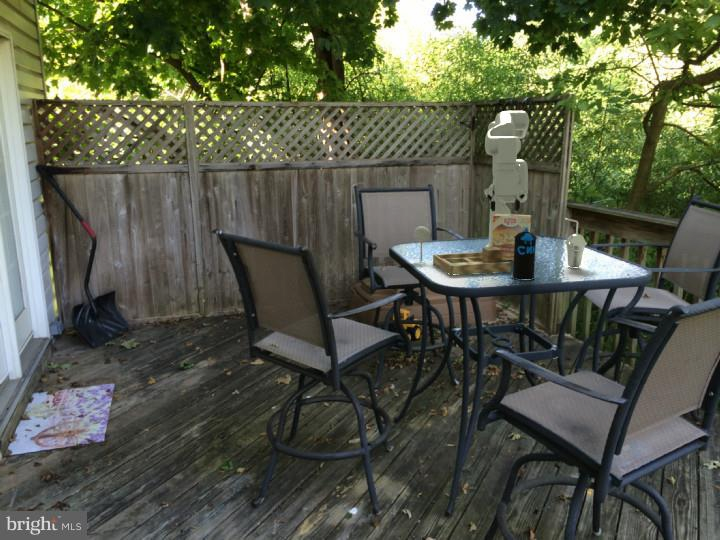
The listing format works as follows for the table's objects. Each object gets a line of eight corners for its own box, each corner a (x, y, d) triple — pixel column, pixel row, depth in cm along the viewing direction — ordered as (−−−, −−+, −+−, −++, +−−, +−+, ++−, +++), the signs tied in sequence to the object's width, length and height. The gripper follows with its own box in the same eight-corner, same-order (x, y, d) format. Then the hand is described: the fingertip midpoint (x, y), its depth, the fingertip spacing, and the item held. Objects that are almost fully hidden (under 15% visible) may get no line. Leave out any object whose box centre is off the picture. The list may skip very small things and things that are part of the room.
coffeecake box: (491, 259, 254) (492, 215, 250) (494, 256, 261) (496, 213, 256) (526, 262, 248) (528, 216, 244) (528, 258, 254) (531, 214, 250)
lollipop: (430, 258, 257) (431, 225, 254) (427, 262, 251) (427, 227, 247) (415, 257, 260) (415, 224, 256) (411, 261, 253) (411, 227, 250)
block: (495, 261, 239) (496, 246, 238) (501, 264, 233) (502, 249, 232) (481, 261, 238) (482, 247, 237) (487, 265, 232) (488, 250, 231)
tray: (488, 260, 252) (488, 251, 251) (510, 272, 230) (511, 262, 230) (433, 263, 247) (433, 254, 246) (450, 275, 226) (450, 265, 225)
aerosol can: (509, 275, 225) (511, 224, 220) (529, 275, 225) (532, 224, 221) (516, 281, 217) (519, 228, 212) (537, 280, 217) (540, 227, 213)
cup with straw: (574, 270, 232) (578, 221, 227) (557, 266, 240) (560, 218, 235) (589, 268, 236) (593, 219, 231) (572, 264, 243) (575, 216, 239)
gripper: (524, 167, 237) (522, 209, 241) (482, 168, 236) (481, 210, 240) (530, 168, 230) (528, 211, 233) (487, 168, 229) (486, 212, 232)
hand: (504, 210), depth 236 cm, fingers open, 9 cm apart
